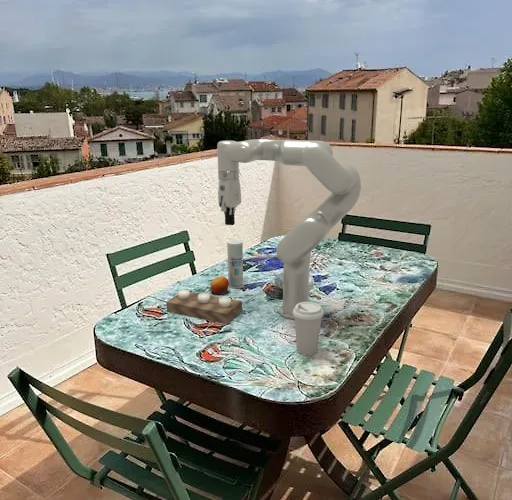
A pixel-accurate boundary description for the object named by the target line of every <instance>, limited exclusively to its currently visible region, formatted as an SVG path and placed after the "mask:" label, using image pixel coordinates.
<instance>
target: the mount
mask: <svg viewBox="0 0 512 500" xmlns="http://www.w3.org/2000/svg"><path fill="white" fill-rule="evenodd" d="M189 293H190V298H189V299H185V300H181V299H179V298H178V294H177V295H175V296H174V297H172V298H170V299H169V300H167V301H166V302H165V303H166V312H167V313H172V314H177V315H182V316H186V317H192V318H196V319H201V320H206V321H209V322H210V321H211V322H215V323H221V324H226V325H228V324H229V323H230V322H231V321H232V320H234V319H235V318H236V317H237V316H238V315H239V314H240V313H242V312H243V302H242V301H241V300H237V299H236V300H235V299H231V306H230V307H226V308H223V307H220V306H219V298H221V297H219V296H215V295H210V302H209V303H205V304H202V303H199V302H198V295H199V294H200V293H197V292H194V291H193V292H192V291H189Z"/></svg>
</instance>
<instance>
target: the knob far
mask: <svg viewBox="0 0 512 500" xmlns="http://www.w3.org/2000/svg"><path fill="white" fill-rule="evenodd" d="M189 292H190V290H189V289H179V290H178V291H177V295H178V298H179V299H181V300H185V299H189V298H190V293H189Z"/></svg>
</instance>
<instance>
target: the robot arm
mask: <svg viewBox="0 0 512 500" xmlns="http://www.w3.org/2000/svg"><path fill="white" fill-rule="evenodd" d="M216 149H217V171H218V172H217V176H218V188H217V189H218V190H217V191H218V192H217V193H218V195H217V197H218V198H217V200H218V206H219V208H220V209H221V210H220V211H221V212H223V214H224V225H227V226H233V225H235V222H236V221H235V213H236V208H237V207H238V206H240V205H241V204H242V191H241V182H240V171H239V170H240V168H239V167H240V166H239V165H240V164H239V163H243V164H248V163H251V162H254V161H255V162H256V161H271V162H272V161H273V162H278V163H280V164H282V165H283V166H294V167H295V166H299V167H306V169H307V170H308V171H309V173H311V174H312V175H313V176H314V178H316V180H318V182H319V183H320V184H322V186H324V188H325V189H327V191H329V192H330V195H329V196H328V197H327V198H326V199H325V200H324V201H323V202H322V203H321V204H320V205H319V206H318V207H317V208H316V209H314V211H312V212H310V213H309V214H308V215H306V216H305V217H304V218H303V219H302V220H301V221H300V222H298V224H297V225H295V226H294V227H293V228H292V229H291V231H289V232H288V233H287V234H286V235H285V236H284V237H283V238H282V239H280V241H279V242H278V243H277V246H276V251H275V252H276V256H277V258H278V260H279V261H280V262H281V263H283V273H282V276H283V277H282V281H283V282H282V283H283V284H282V292H283V293H282V305H281V306H279V308H278V314H279V315H281V317H283V318H286V319H289V320H290V319H291V320H295V319H294V315H293V310H294V308H295V306H296V305H297V304H298V303H301V302H312V301H311V300H309V299H310V298H309V294H310V293H309V291H310V269H311V268H310V266H311V265H310V264H311V253H312V250H314V249H315V248H316V247H317V246H318V245H319V244H320V243H321V242H323V240H324V239H326V236H328V235H329V232H331V230H332V229H333V228H334V227H335V226H336V225H338V223H339V222H341V220H342V219H344V218H345V216H347V214H348V213H349V212H350V211H351V210H352V209H353V208H354V207H355V206H356V204H357V202H358V200H359V197H360V194H361V190H362V182H361V178H360V174H359V171H357V169H356V168H355V167H354V166H352V165H348V164H343V165H341V163H339V161H337V159H335V158H334V156H333V148H332V146H331V145H330V144H329V143H328V142H326V141H324V140H308V139H306V140H305V139H304V140H303V139H299V140H298V139H260V138H259V139H246V140H242V141H235V140H220V141H218V142H217V148H216Z"/></svg>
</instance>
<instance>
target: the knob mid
mask: <svg viewBox="0 0 512 500" xmlns="http://www.w3.org/2000/svg"><path fill="white" fill-rule="evenodd" d="M210 296H211V295H210V293H208V292H202V293H199V295H198V302H199V303H202V304H205V303H209V302H210Z"/></svg>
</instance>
